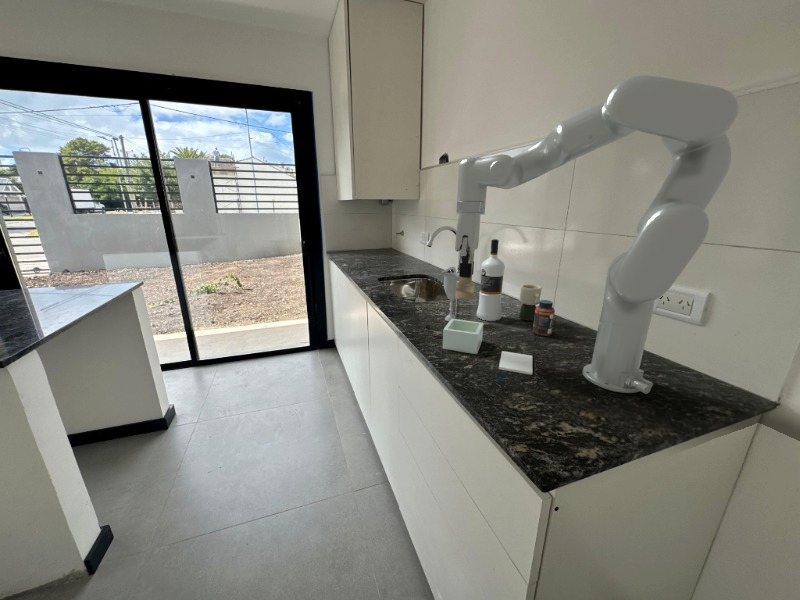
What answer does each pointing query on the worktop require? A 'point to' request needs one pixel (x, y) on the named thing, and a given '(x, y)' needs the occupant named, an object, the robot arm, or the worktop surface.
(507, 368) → the tile
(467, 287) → the wooden block with tab
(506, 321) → the worktop surface
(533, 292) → the character mug
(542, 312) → the supplement bottle
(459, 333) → the holder
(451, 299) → the chalice
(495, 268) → the vodka
